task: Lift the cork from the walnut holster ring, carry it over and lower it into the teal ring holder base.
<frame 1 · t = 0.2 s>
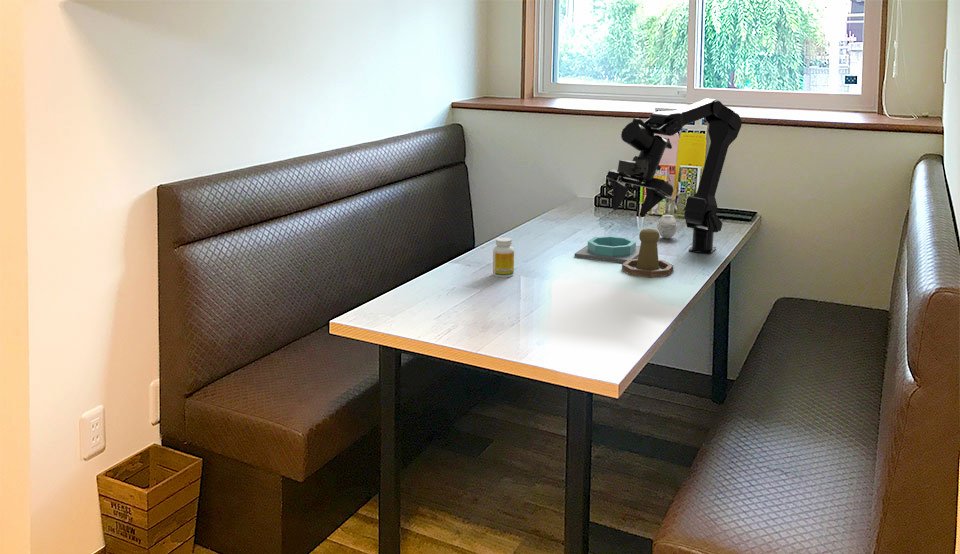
hand: (627, 213, 234), 15 cm above the table, tool tilted 30°, fingers open, 9 cm apart
supplement bottle: (503, 276, 232), on the table
frog figurine: (666, 238, 270), on the table
walnut holster ring: (647, 270, 236), on the table
teal ring holder base: (611, 253, 253), on the table
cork: (647, 271, 236), resting in walnut holster ring
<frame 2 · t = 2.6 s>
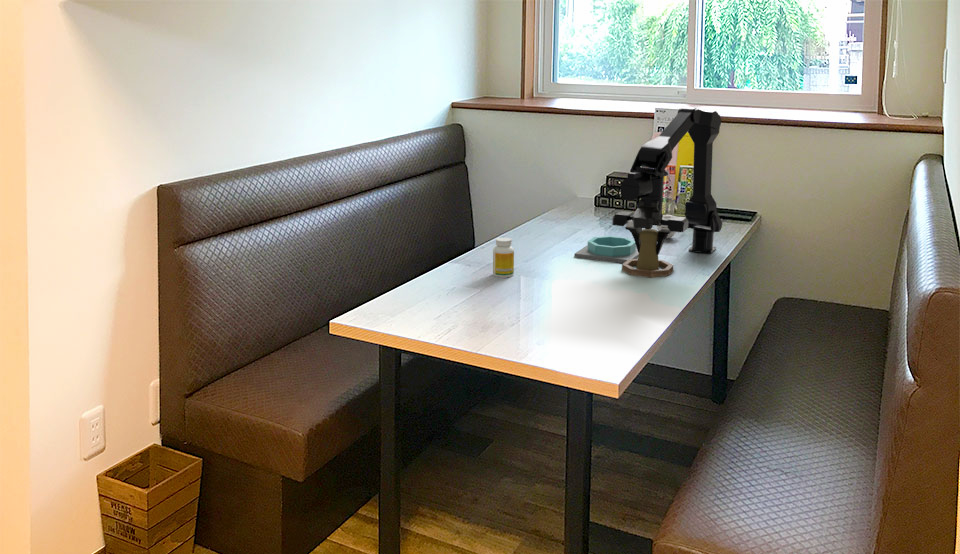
hand: (648, 253, 235), 5 cm above the table, tool pointing down, fingers closed on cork, 4 cm apart
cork: (647, 271, 236), resting in walnut holster ring, touching gripper
everything else where it was.
when the fingers open (7 cm above the table, at t = 8.1 s): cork drops 1 cm, resting on teal ring holder base.
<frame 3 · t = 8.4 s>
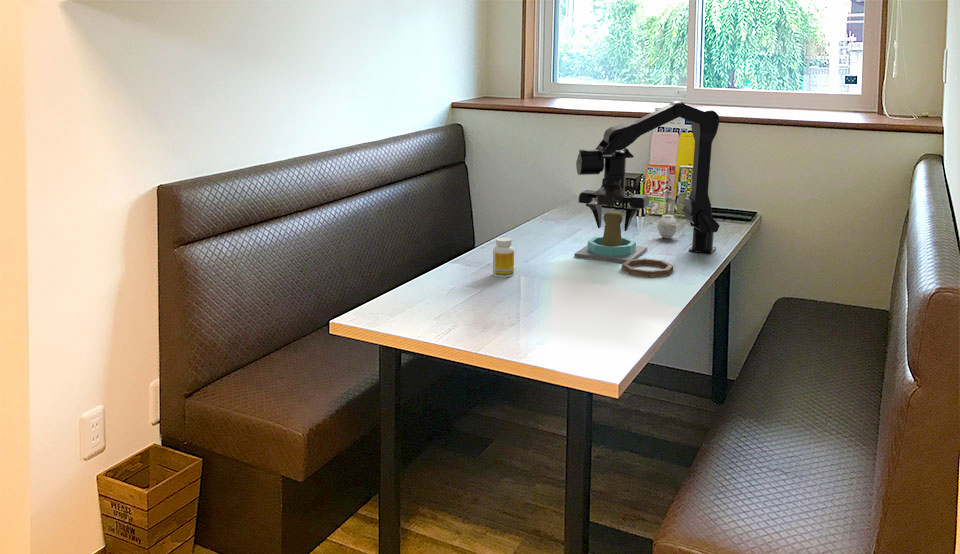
hand: (612, 229, 251), 7 cm above the table, tool pointing down, fingers open, 7 cm apart
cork: (611, 250, 252), point 1 cm above the table, touching teal ring holder base
everything else where it was.
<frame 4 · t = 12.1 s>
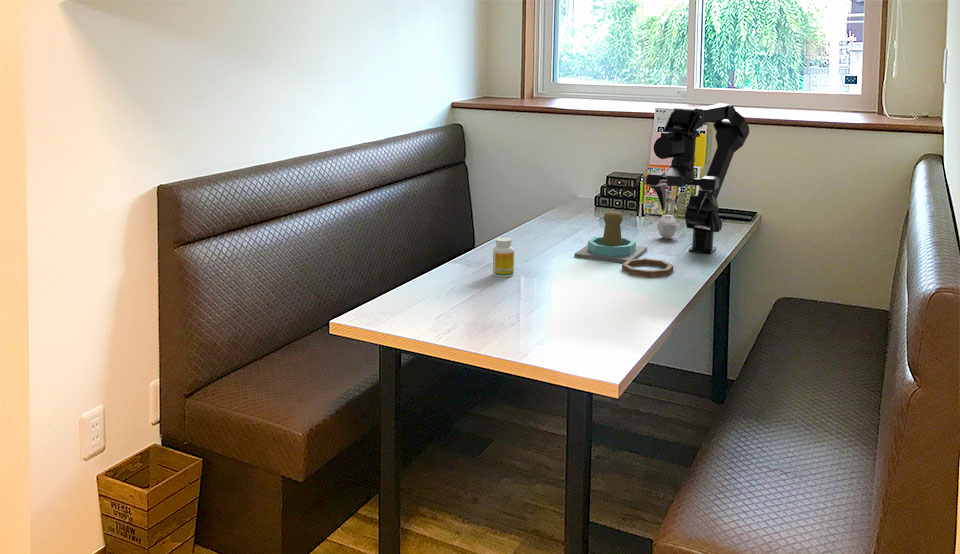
hand: (680, 212, 244), 13 cm above the table, tool pointing down, fingers open, 9 cm apart
nothing on the table moved.
at the end: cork 0.1 cm off-centre on the teal ring holder base, point 0.8 cm above the teal ring holder base's base; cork tilted 0°; the gripper is holding nothing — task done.
